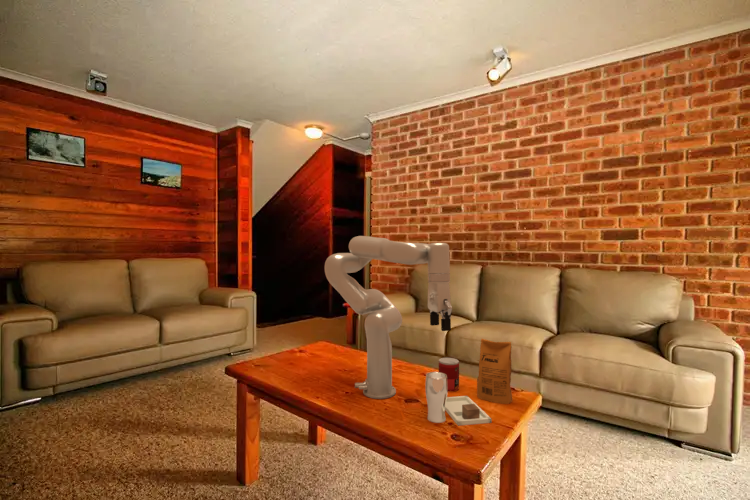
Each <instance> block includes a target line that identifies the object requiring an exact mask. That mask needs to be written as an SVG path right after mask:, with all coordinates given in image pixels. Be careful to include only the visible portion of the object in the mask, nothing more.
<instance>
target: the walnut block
mask: <svg viewBox="0 0 750 500" xmlns="http://www.w3.org/2000/svg"><path fill="white" fill-rule="evenodd" d="M475 404H476V403H475ZM475 404H465V405H462V417H463V419H475V418H480V409H479V408H478V407H477V406H476V405H475Z"/></svg>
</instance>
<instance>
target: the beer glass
mask: <svg viewBox="0 0 750 500" xmlns="http://www.w3.org/2000/svg"><path fill="white" fill-rule="evenodd" d="M424 387H425V388H424V389H425V396H426V397H425V398H426V402H427V404H426V405H427V417H426V418H427V420H428V421H429V422H431V423H435V424H440V423H445V422H446V420H447V419H446V410H445V406H446V400H447V397H448V392H449V391H448V385H447V375H446V374H444V373H441V372H439V371H430V372H426V374H425V386H424Z"/></svg>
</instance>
